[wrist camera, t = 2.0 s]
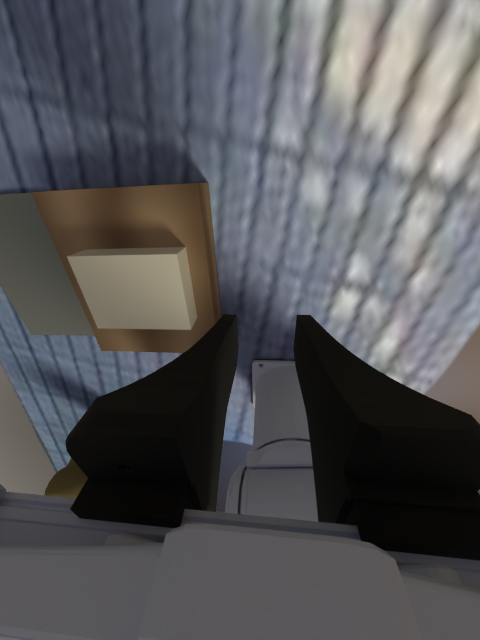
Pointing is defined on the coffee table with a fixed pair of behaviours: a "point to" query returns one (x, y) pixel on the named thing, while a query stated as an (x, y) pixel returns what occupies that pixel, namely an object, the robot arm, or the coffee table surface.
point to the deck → (139, 232)
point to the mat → (36, 271)
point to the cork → (67, 482)
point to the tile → (137, 287)
